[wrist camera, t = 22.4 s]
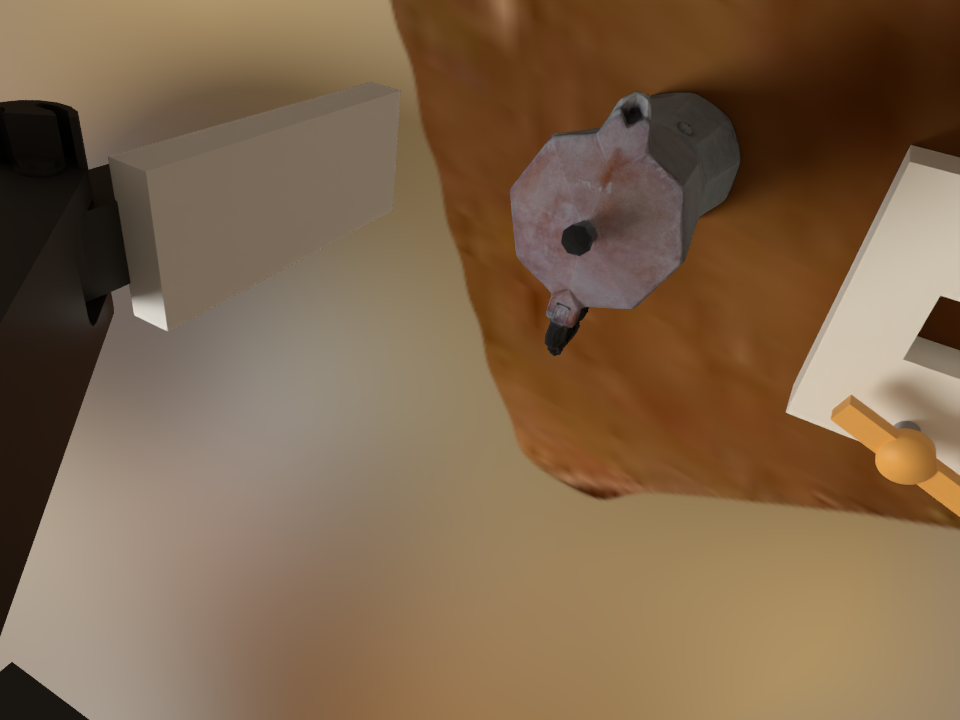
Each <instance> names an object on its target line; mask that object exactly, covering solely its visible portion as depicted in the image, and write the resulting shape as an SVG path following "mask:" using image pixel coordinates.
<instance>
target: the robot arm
mask: <svg viewBox="0 0 960 720" xmlns="http://www.w3.org/2000/svg"><path fill="white" fill-rule="evenodd" d="M400 94H401V91H400V90H397V89H393V88H390V87H386V86H383V85H380V84H377V83H374V82H369V83H365V84H361V85H358V86H354V87H351V88H347V89H344V90H340V91H337V92H333V93H330V94H326V95H323V96H320V97H316V98H312V99H309V100H305V101H302V102H298V103H295V104H291V105H288V106H284V107H281V108H277V109H273V110H270V111H266V112H263V113H260V114H256V115H252V116H249V117H246V118H242V119H238V120H235V121H231V122H228V123H224V124H221V125H217V126H214V127H210V128H207V129H203V130H200V131H196V132H193V133H189V134H186V135H182V136H179V137H175V138H171V139H168V140H164V141H161V142H157V143H154V144H151V145H147V146H143V147H140V148H136V149H133V150H129V151H126V152H123V153H119V154H116V155H112V156H108V160H109V164H107V165H103V166H100V167H96V168H93V169H90V170H88V165H87V159H86V155H85V148H84V143H83V138H82V132H81V127H80V121H79V116H78V111H76V110H75V109H73V108H72V107H70V106H67V105H64V104H60V103H56V102H48V101H40V100H18V101H7V102H0V635H1V632H2V629H3V627H4V624H5V621H6V618H7V615H8V612H9V610H10V606H11V604H12V601H13V598H14V595H15V593H16V589H17V587H18V584H19V581H20V578H21V575H22V573H23V570H24V567H25V564H26V561H27V558H28V556H29V553H30V550H31V547H32V544H33V541H34V538H35V536H36V533H37V530H38V527H39V524H40V521H41V519H42V516H43V513H44V510H45V507H46V504H47V502H48V499H49V496H50V493H51V490H52V487H53V485H54V482H55V479H56V476H57V473H58V470H59V467H60V464H61V462H62V459H63V456H64V453H65V450H66V448H67V445H68V442H69V439H70V436H71V433H72V430H73V428H74V425H75V422H76V419H77V416H78V413H79V410H80V408H81V405H82V402H83V399H84V396H85V393H86V390H87V388H88V385H89V382H90V379H91V376H92V374H93V371H94V368H95V365H96V362H97V359H98V357H99V354H100V351H101V348H102V345H103V342H104V340H105V337H106V334H107V331H108V328H109V325H110V322H111V320H112V317H113V314H114V306H113V300H112V295H111V292H112V291H114V290H116V289H119V288H121V287H123V286H125V285H127V284H129V286H130V292H131V298H132V304H133V310H134V315H135V316H137V317H139V318H141V319H143V320H145V321H147V322H149V323H151V324H153V325H155V326H157V327H159V328H162V329H164V330H166V331H170V330H172V329H173V328H175V327H177V326H179V325H180V324H182V323H184V322H186V321H188V320H190V319H192V318H194V317H196V316H198V315H199V314H201V313H203V312H205V311H207V310H209V309H210V308H212V307H214V306H216V305H218V304H220V303H222V302H223V301H225V300H227V299H229V298H231V297H233V296H235V295H237V294H238V293H240V292H242V291H244V290H246V289H248V288H249V287H251V286H253V285H255V284H257V283H259V282H261V281H262V280H264V279H266V278H268V277H270V276H272V275H274V274H276V273H277V272H279V271H281V270H283V269H285V268H287V267H288V266H290V265H292V264H294V263H296V262H298V261H300V260H302V259H303V258H305V257H307V256H309V255H311V254H313V253H315V252H316V251H318V250H320V249H322V248H324V247H325V246H328V245H329V244H331V243H333V242H335V241H337V240H339V239H341V238H342V237H344V236H346V235H348V234H350V233H352V232H354V231H355V230H357V229H359V228H361V227H363V226H365V225H367V224H368V223H370V222H372V221H374V220H376V219H378V218H380V217H381V216H383V215H385V214H387V213H389V212H391V211H392V207H393V194H394V180H395V165H396V151H397V137H398V123H399V122H398V121H399V109H400ZM0 720H89V719H87V718H86V717H85V716H83V715H82V714H81V713H79V712H78V711H77V710H75V709H74V708H73V707H71V706H70V705H69V704H67V703H66V702H65V701H63V700H62V699H61V698H59V697H58V696H57V695H55V694H54V693H53V692H51V691H50V690H49V689H47V688H46V687H45V686H43V685H42V684H41V683H39V682H38V681H37V680H35V679H34V678H33V677H31V676H30V675H29V674H27V673H26V672H25V671H23V670H22V669H21V668H19V667H18V666H17V665H15V664H14V663H13V662H11V663H10V664H9V665H8V666H7V667H5V668H4V669H3V670H2V671H0Z"/></svg>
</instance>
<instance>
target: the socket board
mask: <svg viewBox="0 0 960 720" xmlns="http://www.w3.org/2000/svg"><path fill="white" fill-rule="evenodd" d="M940 296H943V297H946V298H950V299H953V300H956V301H959V302H960V157H956V156H952V155H948V154H944V153H940V152H936V151H933V150H929V149H925V148H921V147H917V146H913V145H910V147H909V149H908V151H907V153H906V155H905V157H904V159H903V161H902V163H901V166H900V168H899V170H898V172H897V174H896V176H895V178H894V180H893V182H892V184H891V186H890V188H889V190H888V192H887V194H886V196H885V198H884V200H883V202H882V204H881V206H880V209H879V211H878V213H877V215H876V217H875V219H874V221H873V223H872V225H871V227H870V229H869V231H868V233H867V235H866V237H865V239H864V241H863V243H862V245H861V247H860V249H859V251H858V254H857V256H856V258H855V260H854V262H853V264H852V266H851V268H850V270H849V272H848V274H847V276H846V278H845V280H844V282H843V284H842V286H841V288H840V290H839V292H838V294H837V297H836V299H835V301H834V303H833V305H832V307H831V309H830V311H829V313H828V315H827V317H826V319H825V321H824V323H823V325H822V327H821V329H820V331H819V333H818V335H817V337H816V339H815V342H814V344H813V346H812V348H811V350H810V352H809V354H808V356H807V358H806V360H805V362H804V364H803V366H802V368H801V370H800V372H799V374H798V376H797V378H796V380H795V382H794V385H793V388H792V392H791V395H790V399H789V402H788V406H787V409H786V413H788V414H791V415H793V416H796V417H798V418H801V419H803V420H806V421H809V422H811V423H814V424H816V425H819V426H821V427H824V428H827V429H829V430H832V431H834V432H837V433H839V434H842V435H845V436H847V437H850V438H852V439H855V440H857V439H856V438H854V437H853V436H852V435H851V434H849V433H848V432H847V431H845V430H844V429H843V428H841V427H840V426H839V425H837V424H836V423H835V422H833V421H832V420H831V414H832V410H833V409H834V408H835V407H836V406H838V405H839V404H840V403H841V402H842V401H844V400H845V399H846V398H847V397H849V396H850V395H853V396H854V397H855V398H857V399H858V400H859V401H861V402H862V403H863V404H865V405H866V406H867V407H869V408H870V409H871V410H873V411H874V412H875V413H877V414H878V415H879V416H881V417H882V418H884V419H885V420H886V421H888V422H889V423H890V424H892V425H893V426H894V427H896V428H897V429H900V428H908V429H914V430H917V431H920V432H922V433H924V434H925V435H927V436H928V437H929V438H930V439H931V440H932V441H933V443H934V445H935V447H936V458H937V459H938V460H940V461H941V462H942V463H944V464H945V465H946V466H948V467H949V468H950V469H952V470H953V471H954V472H956V473H957V474H959V475H960V350H957V349H954V348H951V347H948V346H945V345H942V344H939V343H936V342H933V341H930V340H927V339H924V338H921V337H918V336H917V335H918V333H919V331H920V330H921V328H922V326H923V325H924V323H925V321H926V319H927V318H928V316H929V314H930V313H931V311H932V309H933V307H934V306H935V304H936V302H937V301H938V299H939V297H940ZM857 441H858V440H857Z"/></svg>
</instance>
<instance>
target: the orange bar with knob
mask: <svg viewBox="0 0 960 720" xmlns="http://www.w3.org/2000/svg"><path fill="white" fill-rule="evenodd" d="M831 420H832V421H833V422H835V423H836V424H837V425H839V426H840V427H841V428H843V429H844V430H845V431H847V432H848V433H849V434H851V435H852V436H853V437H854V438H856V439H857V440H858V441H860V442H861V443H862V444H864V445H865V446H866V447H868V448H869V449H870V450H872V451H873V452H874V453H876V460H875V462H876V466H877V468H878V470H879V472H880V473H881V474H882V475H883V476H884V477H886V478H887V479H889V480H891V481H893V482H896V483H900V484H907V485H911V484H917V485H918V486H919V487H921V488H922V489H923V490H925V491H926V492H927V493H929V494H930V495H931V496H933V497H934V498H935V499H937V500H938V501H939V502H941V503H942V504H943V505H945V506H946V507H947V508H949V509H950V510H951V511H953V512H954V513H955V514H957V515H958V516H959V517H960V475H959V474H957V473H956V472H954V471H953V470H952V469H950V468H949V467H948V466H946V465H945V464H944V463H942V462H941V461H940V460H938V459H937V458H936V447H935V445H934V443H933V441H932V440H931V439H930V438H929V437H928V436H927V435H925V434H924V433H922V432H920V431H917V430H914V429H908V428H900V429H897V428H896V427H894V426H893V425H892V424H890V423H889V422H888V421H886V420H885V419H884V418H882V417H881V416H879V415H878V414H877V413H875V412H874V411H873V410H871V409H870V408H869V407H867V406H866V405H865V404H863V403H862V402H861V401H859V400H858V399H857V398H855V397H854V396H853V395H850V396H849V397H847V398H846V399H845V400H844V401H842V402H841V403H840V404H839V405H838V406H836V407H835V408H834V409H833V410H832V414H831Z"/></svg>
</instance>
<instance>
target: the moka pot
mask: <svg viewBox="0 0 960 720" xmlns="http://www.w3.org/2000/svg"><path fill="white" fill-rule="evenodd" d="M740 160H741V158H740V152H739V145H738V142H737V138H736V134H735V131H734V127H733V125H732V123H731V121H730V119H729V117H728V116H727V115H726V114H724V113H723V112H722V111H721V110H720V109H719V108H718V107H716V106H715V105H713V104H712V103H711V102H709V101H707V100H706V99H704V98H702V97H701V96H699V95H698V94H694V93H681V92H679V93H666V94H658V95H652V96H650V97H649V96H648V94H644V93H641V92H638V91H637V92H634V93H631V94H629V95H626V96H625V97H623V98H622V99H621V100H620V101H619V102H618V103H617V105H616V106H615V108H614V109H613V111H612V112H611V114H610V116H609V117H608V118H607V120H606V121H605V123H604V124H603V126H602V127H601V128H594V129H587V130H582V131H572V132H567V133H556V134H554V135H552V137H551V138H550V139H549V140H548V142H547V143H546V144H545V145H544V147H543V148H542V149H541V150H540V152H539V153H538V154H537V155H536V157H535V158H534V159H533V161H532V162H531V163H530V165H529V166H528V167H527V168H526V170H525V171H524V172H523V173H522V175H521V176H520V177H519V178H518V180H517V181H516V182H515V183H514V185H513V186H512V187H511V191H510V195H511V208H512V218H513V228H514V238H515V248H516V254H517V257H518V259H519V260H520V261H521V263H522V264H523V265H524V266H525V267H526V268H527V269H528V270H530V271H531V272H532V273H533V274H534V275H535V277H536V278H537V279H538V280H540V281H541V282H542V283H543V284H544V285H545V286H546V287H547V289H548V290H549V291H550V292H551V298H550V301H549V304H548V307H547V312H546V316H548V317H549V318H550V319H551V320H550V325H549V327H548V330H547V333H546V335H545V344H546V345H547V346H548V348H547V349H548V350H549V351H550V353H551V354H552V355H553V356H556V355H560V354H561V352H562V350H563V348H564V347H565V346H566V345H567V344H568V342H569V341H570V340H571V339H572V338H573V337H574V335H575V334H576V332H577V331H578V328H579V326H580V325H579V321H581V320H582V319H583V318H584V317H585V315H586V313H587V312H588V309H589V307H602V308H614V309H634V308H635V307H637V306H638V305H639V304H640V303H641V302H642V301H643V300H644V299H645V298H646V297H647V296H648V295H650V294H651V293H652V292H653V291H654V290H655V289H656V288H657V287H658V286H659V285H660V284H661V283H662V282H663V281H664V280H666V279H667V278H668V277H669V276H670V275H671V274H672V273H673V272H674V271H675V270H677V268H678V267H679V266H680V265H681V264H682V263H683V262H684V261H685V259H686V255H687V252H688V249H689V246H690V242H691V239H692V235H693V233H694V230H695V226H696V223H697V220H698V218H699V217H700V216H702V215H703V214H705V213H706V212H708V211H710V210H711V209H713V208H714V207H716V206H717V205H719V204H720V203H722V202H723V201H725V200H726V198H727V196H728V194H729V192H730V190H731V187H732V185H733V181H734V179H735V176H736V173H737V170H738V168H739V165H740Z"/></svg>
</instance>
